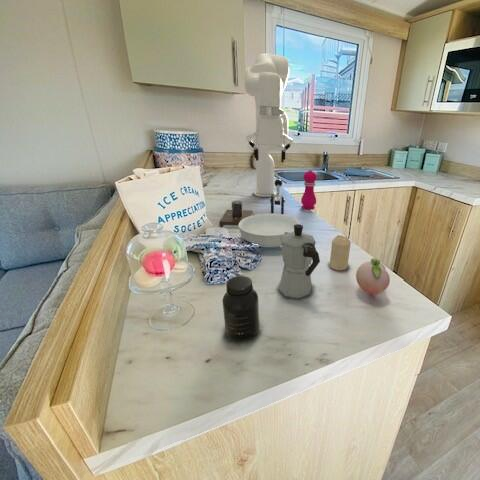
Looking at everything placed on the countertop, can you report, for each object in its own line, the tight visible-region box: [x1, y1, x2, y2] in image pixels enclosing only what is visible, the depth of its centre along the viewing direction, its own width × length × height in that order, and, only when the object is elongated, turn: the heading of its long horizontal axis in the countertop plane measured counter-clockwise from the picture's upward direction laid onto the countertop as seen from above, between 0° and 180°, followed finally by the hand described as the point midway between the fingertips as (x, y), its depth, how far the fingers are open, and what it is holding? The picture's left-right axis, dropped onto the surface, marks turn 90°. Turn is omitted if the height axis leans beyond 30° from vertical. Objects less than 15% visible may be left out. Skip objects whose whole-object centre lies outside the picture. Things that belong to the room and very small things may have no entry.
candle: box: [329, 234, 351, 271], centre depth 83 cm, size 6×6×10 cm
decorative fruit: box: [355, 257, 391, 295], centre depth 71 cm, size 9×8×10 cm
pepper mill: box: [300, 167, 318, 211], centre depth 128 cm, size 7×7×20 cm
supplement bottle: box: [222, 275, 260, 342], centre depth 55 cm, size 7×7×12 cm
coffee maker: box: [278, 223, 321, 300], centre depth 68 cm, size 15×9×18 cm, turn 36°
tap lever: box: [274, 179, 283, 206], centre depth 112 cm, size 13×3×3 cm, turn 6°
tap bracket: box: [269, 194, 286, 215], centre depth 111 cm, size 12×9×12 cm
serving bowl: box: [237, 212, 301, 248], centre depth 96 cm, size 21×21×7 cm
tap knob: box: [231, 200, 243, 217], centre depth 110 cm, size 4×4×6 cm
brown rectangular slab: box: [219, 209, 254, 228], centre depth 111 cm, size 14×11×3 cm
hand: (269, 160), depth 106 cm, fingers open, 9 cm apart
